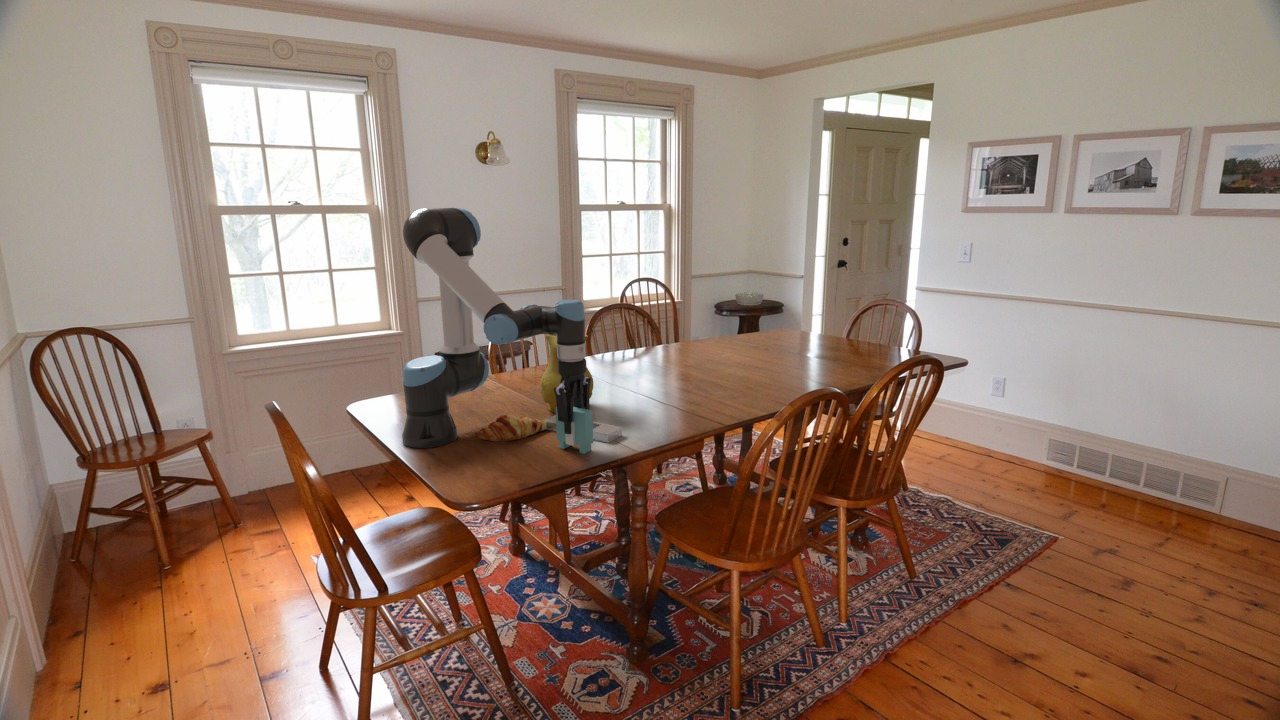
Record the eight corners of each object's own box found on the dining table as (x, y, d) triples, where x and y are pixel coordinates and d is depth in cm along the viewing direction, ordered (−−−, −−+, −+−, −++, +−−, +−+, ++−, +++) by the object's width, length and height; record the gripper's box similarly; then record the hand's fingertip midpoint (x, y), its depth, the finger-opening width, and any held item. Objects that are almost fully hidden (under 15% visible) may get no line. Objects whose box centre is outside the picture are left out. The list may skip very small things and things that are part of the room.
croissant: (543, 438, 197) (538, 412, 199) (554, 432, 188) (549, 405, 190) (474, 449, 187) (469, 422, 189) (482, 443, 178) (477, 415, 180)
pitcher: (529, 411, 210) (529, 335, 205) (562, 399, 226) (563, 328, 221) (573, 420, 202) (575, 341, 197) (604, 406, 219) (606, 333, 214)
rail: (608, 442, 182) (607, 434, 182) (542, 428, 195) (542, 420, 194) (622, 435, 188) (621, 427, 187) (557, 421, 201) (557, 414, 200)
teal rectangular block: (586, 454, 174) (585, 413, 171) (557, 447, 179) (555, 407, 177) (593, 450, 177) (592, 410, 174) (564, 444, 182) (563, 404, 179)
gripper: (563, 366, 163) (567, 454, 169) (601, 354, 177) (603, 435, 182) (540, 363, 167) (544, 448, 173) (579, 351, 181) (582, 431, 186)
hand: (575, 441), depth 177 cm, fingers closed on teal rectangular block, 3 cm apart
